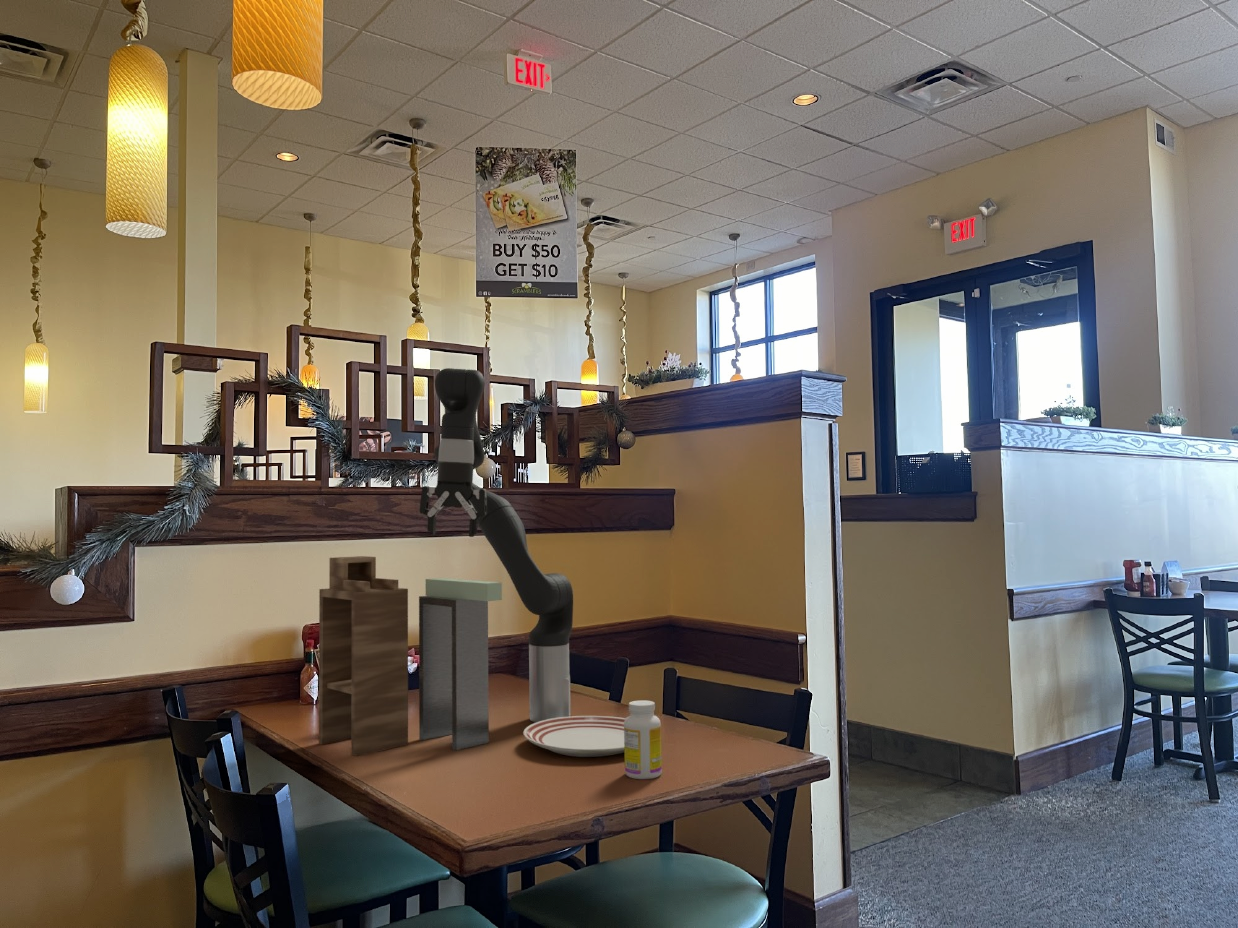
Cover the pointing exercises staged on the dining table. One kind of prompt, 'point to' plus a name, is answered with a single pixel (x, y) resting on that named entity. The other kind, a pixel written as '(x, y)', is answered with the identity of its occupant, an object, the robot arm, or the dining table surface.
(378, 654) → the tunnel stand
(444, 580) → the bar
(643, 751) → the supplement bottle
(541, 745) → the dinner plate
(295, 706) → the dining table surface
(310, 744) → the dining table surface
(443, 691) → the side stand
